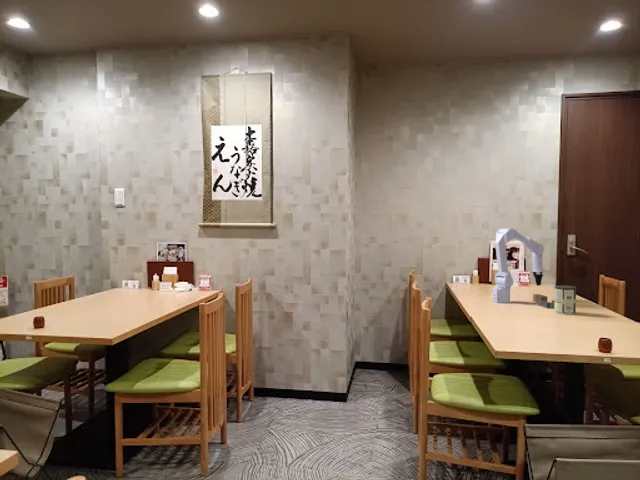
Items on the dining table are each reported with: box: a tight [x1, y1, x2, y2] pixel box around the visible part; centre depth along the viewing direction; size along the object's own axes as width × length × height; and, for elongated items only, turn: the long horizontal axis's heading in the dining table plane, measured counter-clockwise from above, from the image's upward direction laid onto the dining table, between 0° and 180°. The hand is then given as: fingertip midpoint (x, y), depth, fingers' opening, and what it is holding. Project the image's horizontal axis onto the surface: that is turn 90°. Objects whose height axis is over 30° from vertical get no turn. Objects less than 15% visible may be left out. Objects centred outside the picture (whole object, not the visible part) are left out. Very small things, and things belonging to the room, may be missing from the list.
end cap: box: [537, 299, 555, 309], centre depth 270 cm, size 9×9×3 cm
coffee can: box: [553, 284, 577, 316], centre depth 252 cm, size 10×10×14 cm
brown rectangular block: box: [532, 293, 548, 304], centre depth 284 cm, size 10×4×4 cm, turn 3°
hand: (538, 284), depth 295 cm, fingers open, 7 cm apart
